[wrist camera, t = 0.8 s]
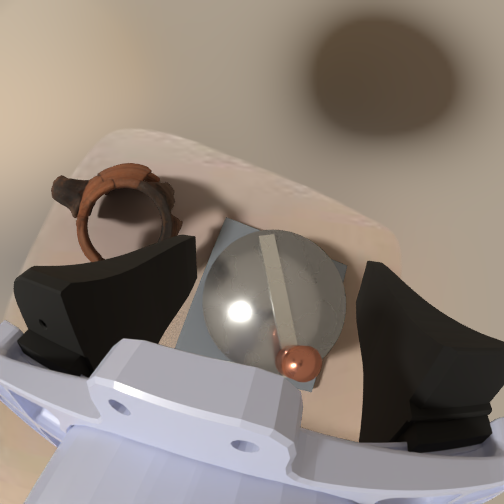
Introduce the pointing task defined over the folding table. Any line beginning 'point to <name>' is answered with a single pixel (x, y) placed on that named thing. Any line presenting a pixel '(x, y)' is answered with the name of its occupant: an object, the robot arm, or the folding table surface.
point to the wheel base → (194, 326)
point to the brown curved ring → (89, 191)
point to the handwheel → (275, 303)
